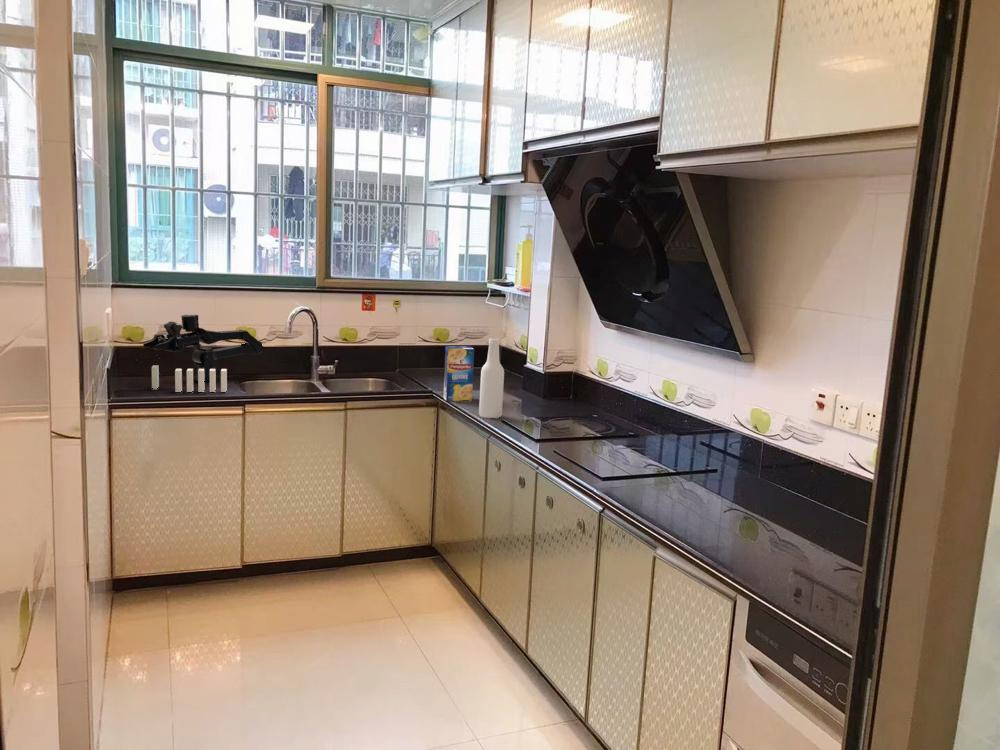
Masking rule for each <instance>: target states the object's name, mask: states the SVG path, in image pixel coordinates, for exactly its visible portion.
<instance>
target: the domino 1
mask: <svg viewBox="0 0 1000 750" xmlns="http://www.w3.org/2000/svg"><path fill="white" fill-rule="evenodd" d="M159 367H160V366H159V365H158V364H157V365H152V366H151V389H152V388H153V389H152V390H158V389H159V388H158V387H160V377H159V375H160V372H159V371H160V370H159ZM157 388H158V389H157Z"/></svg>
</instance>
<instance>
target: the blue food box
mask: <svg viewBox="0 0 1000 750" xmlns="http://www.w3.org/2000/svg"><path fill="white" fill-rule="evenodd" d="M444 355H445V356H444V376H443V377H444V378H443V397H442V398H443V399H444V400H445V401H446V402H463V401H462V400H470V401H469V402H472V401H473V385H474V367H475V366H474V364H475V363H474V362H475V361H474V360H475V348H473V347H472V346H461V345H460V346H458V345H457V346H455V345H453V346H451V345H450V346H449V345H445V354H444ZM460 400H461V401H460Z"/></svg>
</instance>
